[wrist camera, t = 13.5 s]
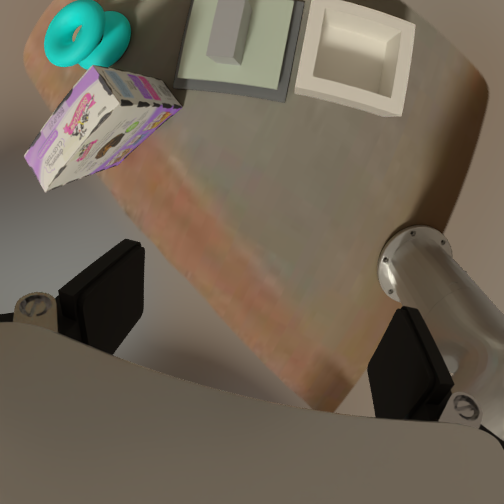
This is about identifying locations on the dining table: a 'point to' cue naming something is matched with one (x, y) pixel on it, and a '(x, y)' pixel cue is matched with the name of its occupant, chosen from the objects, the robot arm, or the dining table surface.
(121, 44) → the donuts
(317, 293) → the dining table surface
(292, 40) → the rubber mat
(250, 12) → the lid
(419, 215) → the dining table surface
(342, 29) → the storage box
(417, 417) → the robot arm
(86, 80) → the candy box
